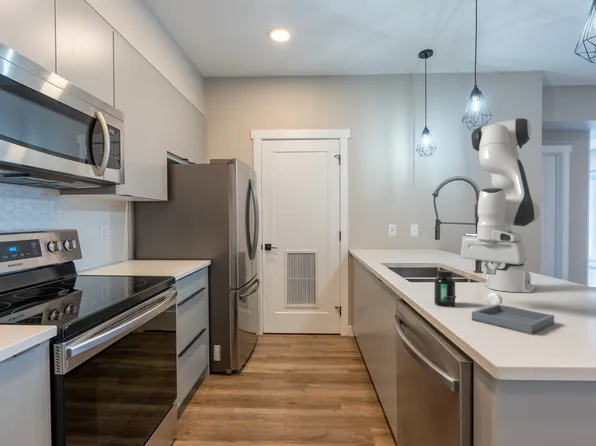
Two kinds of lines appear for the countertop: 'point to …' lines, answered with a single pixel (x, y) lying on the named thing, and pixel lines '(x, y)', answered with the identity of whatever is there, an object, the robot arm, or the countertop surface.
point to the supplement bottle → (444, 288)
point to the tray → (513, 318)
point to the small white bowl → (494, 299)
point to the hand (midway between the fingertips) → (490, 274)
